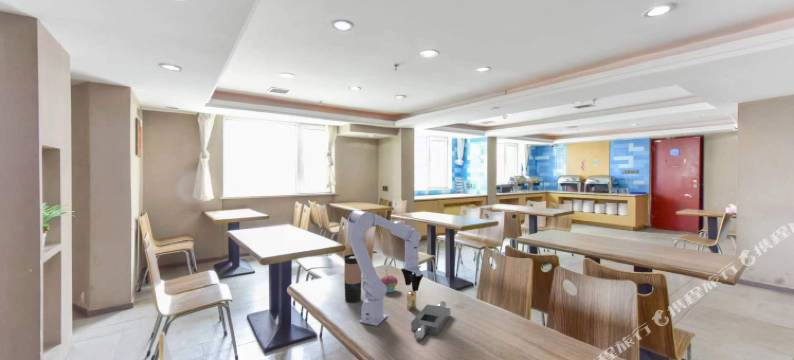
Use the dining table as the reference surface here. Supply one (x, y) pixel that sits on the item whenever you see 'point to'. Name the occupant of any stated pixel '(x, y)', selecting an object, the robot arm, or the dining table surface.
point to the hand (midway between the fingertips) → (411, 287)
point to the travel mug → (352, 279)
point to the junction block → (430, 320)
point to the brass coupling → (411, 300)
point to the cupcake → (389, 282)
